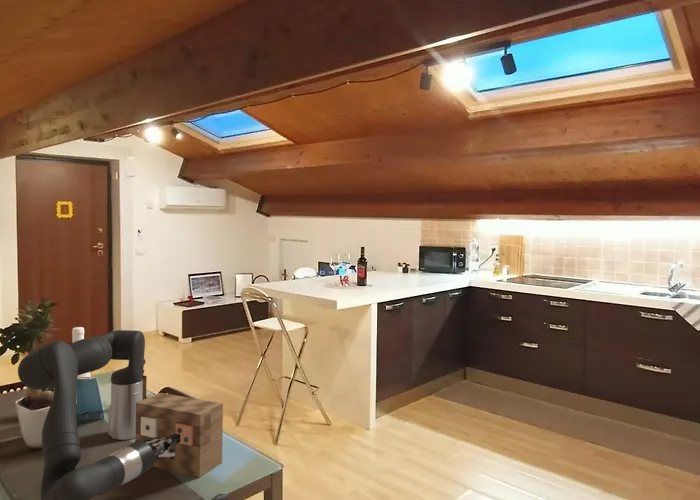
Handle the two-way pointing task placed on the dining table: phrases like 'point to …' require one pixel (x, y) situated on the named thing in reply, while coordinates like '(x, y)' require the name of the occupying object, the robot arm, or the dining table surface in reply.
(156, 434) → the one dot button
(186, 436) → the two dot button
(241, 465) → the dining table surface
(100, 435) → the dining table surface
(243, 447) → the dining table surface
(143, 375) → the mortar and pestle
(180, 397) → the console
